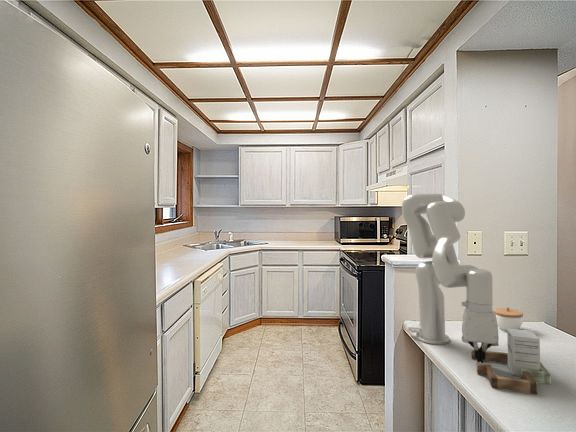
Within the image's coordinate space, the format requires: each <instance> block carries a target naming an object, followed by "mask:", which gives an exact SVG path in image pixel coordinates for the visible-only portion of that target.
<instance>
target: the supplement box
mask: <svg viewBox="0 0 576 432" xmlns="http://www.w3.org/2000/svg"><path fill="white" fill-rule="evenodd" d="M506 335H507V336H506V337H507V340H506V341H507V353H508V363H507V366H508V367H509V369H510V371H511V374H512V376H514V375H515V377H520V376H521V369H529V370H537V371H540V362H541V345H540V344H541V343H540V342H541V340H540V337H538V336H537V334H536V333H535V332H534V331H533V330H528V329H507V331H506Z"/></svg>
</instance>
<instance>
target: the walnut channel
mask: <svg viewBox="0 0 576 432" xmlns="http://www.w3.org/2000/svg"><path fill="white" fill-rule="evenodd" d="M470 354H471V355H470V356H471V357H470V358H471V360H475V361H477V359H476V358H475V357H474V348H471V349H470ZM491 361H492V362H493V363H499V362H501V364H508V352H502V351H493V350H492V351H491V350H486V351H485V360H483V362H491ZM492 362H491V363H492ZM486 366H488V367H492V364H486V363H481V362H480V363H479V362H477V363H476V374H477V375H478V374H479V376H485V375H486V377H487V370H486ZM492 368H493V367H492ZM522 371H528V372H529V373H530V375H531V376H532V378H533V379H534V381H535V382H536V383H539V384H544V385H545V384H546V385H551V383H552V381H551V380H552V379H551V377H552V376H551V373H550V371H549V370H548V369H547V368H546V367H545V365H543V363H542V362H541V361H540V371H537V370H529V369H521V377H520V379H523V376H522Z"/></svg>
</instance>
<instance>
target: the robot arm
mask: <svg viewBox="0 0 576 432" xmlns="http://www.w3.org/2000/svg"><path fill="white" fill-rule="evenodd" d="M401 213H402V217H403V219H404V221H405V223H406V226H407V228H408V232H409V236H410V240H411V243H412V244H411V245H412V249H413V251H414V254H415V256H416V257H417V258H418V259H431V260H429V261H423V262H420V263H418V264H417V265H416V268H415V277H416V282H417V288H418V311H419V312H418V314H419V315H418V316H419V324H418V325H416V326H412V325H408V327H407V328H408V330H407V331H410V332H411V333H416V334H415V337H416V339H417V340H419V342H423V343H427V344H431V345H445V344H448V343H449V342H450V341H451V339H450V335H448V334H446V314H445V311H446V309H445V294H444V293H443V291H442V289H441V288H440V286H439V285H441V286H442V287H444V288H447V289H449V288H466V299H465V301H461V306H462V307H465V308H464V309H463V315H462V324H461V325H462V326H461V330H462V331H461V332H462V336H461V342H463V343H466V344H468V345H470V346H471V347H472V349H474V357H475V358H476V359H477V360H476V361H477V363H480V364H484V361H483V360H485V351H488V349H489V348H492V347H498V346H499V345H500V344H499V339H500V338H499V326H498V324H497V317H496V313H495V312H494V311H493V310H494V309H493V308H494V307H493V304H494V303H493V274H492V271H490V270H487V269H482V268H478V267H476V266H474V265H471V264H463V265H462V264H461V265H460V263H459V261H458V256H457V253H456V249H455V247H454V244H456V243H457V242H459V240H460V239H461V233H460V231H459V229H458V227H457V224H456V223H459V222H462V221H463V220H464V219H465V216H466V210H465V208H464V205H463V204H462V203H461V202H460V201H458V200H456V199H454V198H452V197H450V196H447V195H445V194H442V193H415V194H410V195H407V196H406V197H405V198H404V199H403V200H402V204H401ZM425 214H426V217H427V219H428V221H427V220H426V218H424V216H422V215H425ZM478 343H480V347H479V344H478Z"/></svg>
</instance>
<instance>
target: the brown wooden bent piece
mask: <svg viewBox="0 0 576 432" xmlns="http://www.w3.org/2000/svg"><path fill="white" fill-rule="evenodd" d="M486 370H487V376H486V378H487V380H488V383H489V385H490V387H491V389H498V390H504V391H505V390H506V391H513V392H520V393H526V394H530V395H531V394H533V395H537V394H538V384H537V382H535V381H534V379H533V378H532V376H531V375H530V373H529V372H528V371H522V376H523V379H521V378H515V377H508V376H501V375H496V373H495V370H494V368H493V367H488V366H486Z"/></svg>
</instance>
